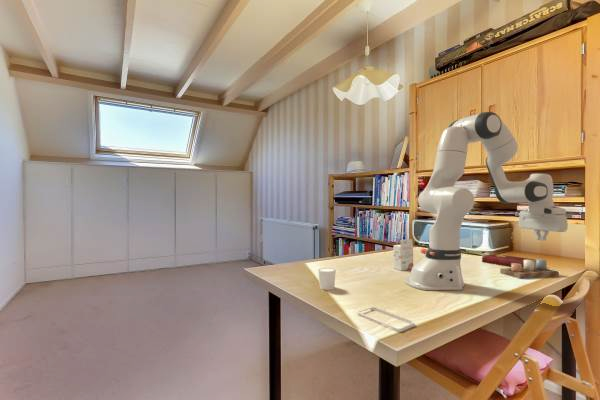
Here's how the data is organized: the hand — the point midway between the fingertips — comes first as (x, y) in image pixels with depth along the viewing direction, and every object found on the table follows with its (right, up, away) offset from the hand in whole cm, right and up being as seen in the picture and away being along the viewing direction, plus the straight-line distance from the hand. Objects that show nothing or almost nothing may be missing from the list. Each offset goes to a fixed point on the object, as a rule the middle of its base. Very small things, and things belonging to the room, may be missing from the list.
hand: (541, 240), depth 136 cm
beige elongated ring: (-85, -17, -50) cm, 100 cm away
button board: (-6, -15, -1) cm, 17 cm away
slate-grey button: (0, -13, 0) cm, 13 cm away
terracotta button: (-13, -15, -2) cm, 20 cm away
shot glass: (-98, -16, -18) cm, 101 cm away
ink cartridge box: (-58, -16, +12) cm, 61 cm away
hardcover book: (-1, -16, +19) cm, 25 cm away
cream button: (-6, -14, -1) cm, 15 cm away
